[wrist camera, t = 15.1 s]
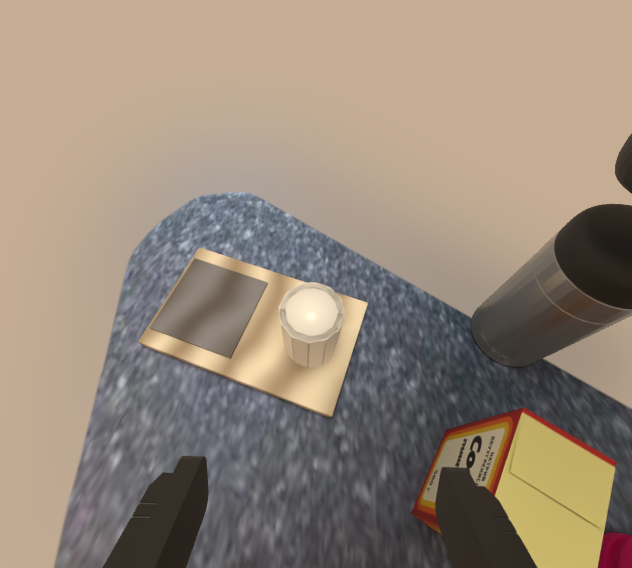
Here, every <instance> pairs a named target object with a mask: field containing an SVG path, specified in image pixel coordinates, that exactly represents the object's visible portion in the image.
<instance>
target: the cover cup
mask: <svg viewBox="0 0 632 568" xmlns="http://www.w3.org/2000/svg"><path fill="white" fill-rule="evenodd" d="M279 316H280V323H281V329H282V335H283V341H284V347H285V352H286V353H287V355H288V356H289V357H290V358H291V360H292V361H293V362H295V363H296V364H298V365H301V366H304V367H308V368H311V367H317V366H322V365H324V364H325V363H326V362H327V361H328V360H330V359H331V358H332V357H333V355H334V352H335V350H336V347H337V344H338V340H339V336H340V332H341V328H342V324H343V320H344V316H345V312H344V307H343V303H342V299H341V298H340V297H339V296H338V295H337V294H336V293H335V292H334V291H333V289H332V288H330V287H328V286H325V285H322V284H319V283H316V282H315V283H314V282H311V283H304V284H299V285H297V286H295V287H294V288H292V289H291V290H290V291H288V292H287V293H286V294H285V295H284V297H283V299H282V301H281V304H280V306H279Z"/></svg>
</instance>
